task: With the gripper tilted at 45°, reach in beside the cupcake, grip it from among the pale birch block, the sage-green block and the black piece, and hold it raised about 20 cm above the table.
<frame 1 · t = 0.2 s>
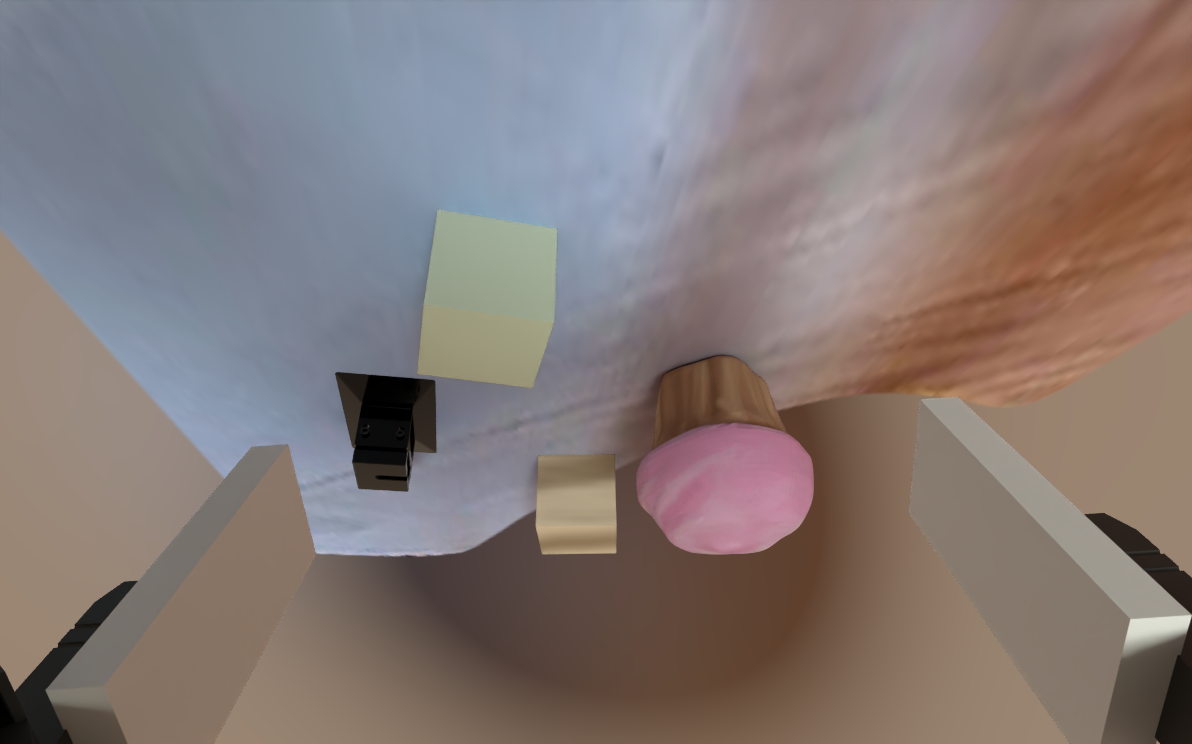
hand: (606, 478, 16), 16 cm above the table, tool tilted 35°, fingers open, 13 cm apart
black piece: (392, 405, 47), on the table
cupcake: (714, 372, 43), on the table
sage block: (490, 256, 34), on the table
birch block: (578, 470, 53), on the table
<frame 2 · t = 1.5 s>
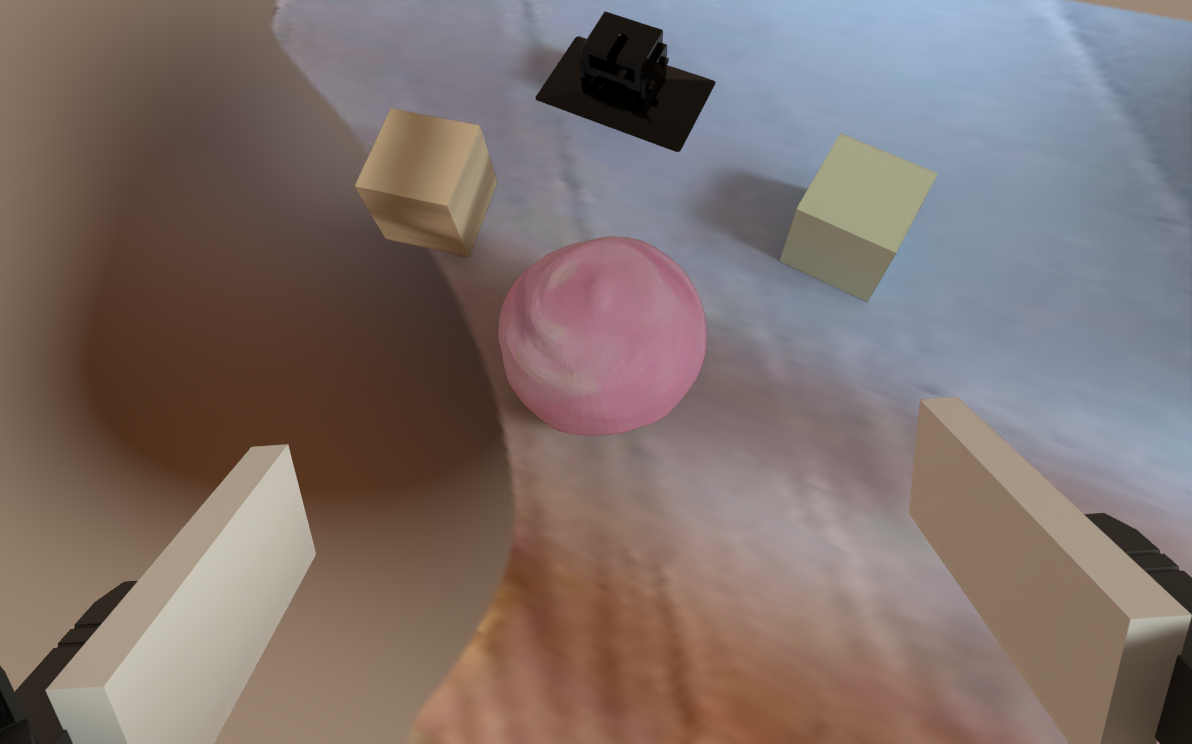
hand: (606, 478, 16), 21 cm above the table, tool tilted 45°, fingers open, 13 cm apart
black piece: (624, 98, 47), on the table
cupcake: (608, 389, 39), on the table
sage block: (842, 246, 41), on the table
birch block: (442, 211, 44), on the table
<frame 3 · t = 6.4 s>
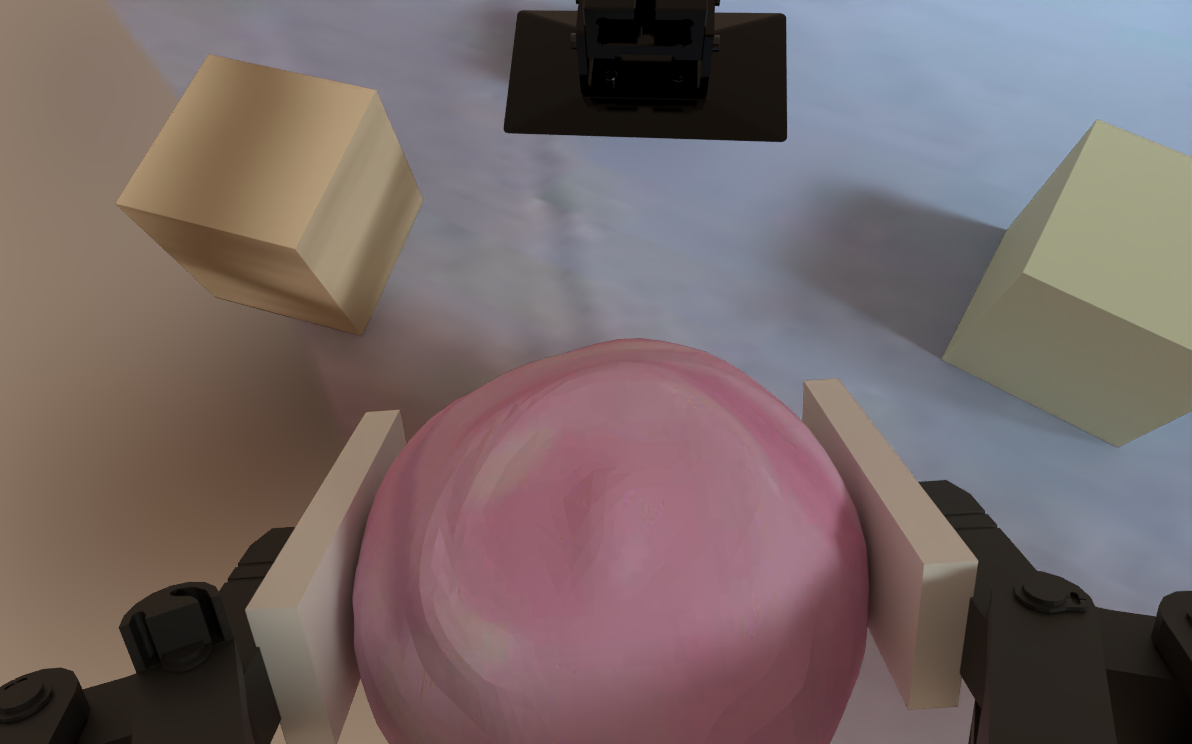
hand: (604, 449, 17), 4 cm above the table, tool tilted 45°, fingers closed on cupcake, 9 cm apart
black piece: (645, 88, 27), on the table
cupcake: (616, 615, 20), on the table, touching gripper
sage block: (1057, 333, 22), on the table
birch block: (322, 248, 24), on the table
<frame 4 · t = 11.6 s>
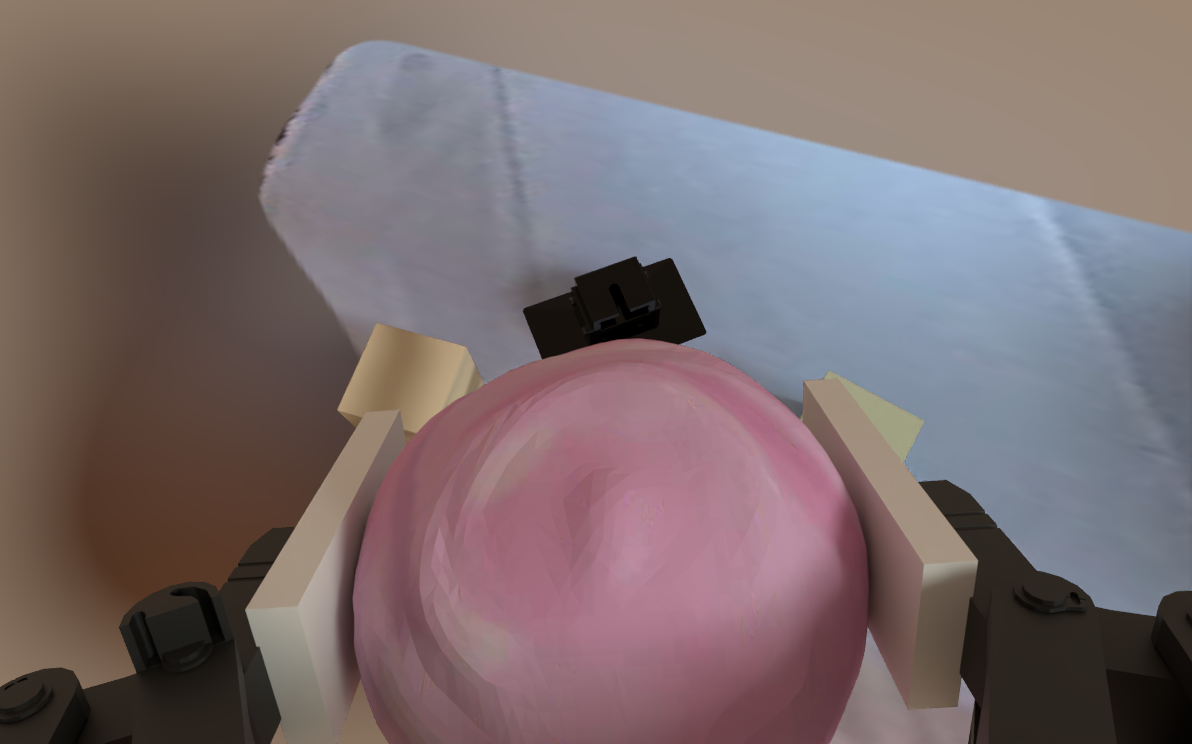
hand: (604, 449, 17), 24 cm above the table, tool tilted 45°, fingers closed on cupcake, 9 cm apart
black piece: (616, 326, 46), on the table
cupcake: (616, 615, 20), point 20 cm above the table, touching gripper
sage block: (828, 465, 41), on the table
birch block: (427, 411, 43), on the table
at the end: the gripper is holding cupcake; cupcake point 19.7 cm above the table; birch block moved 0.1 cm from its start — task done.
